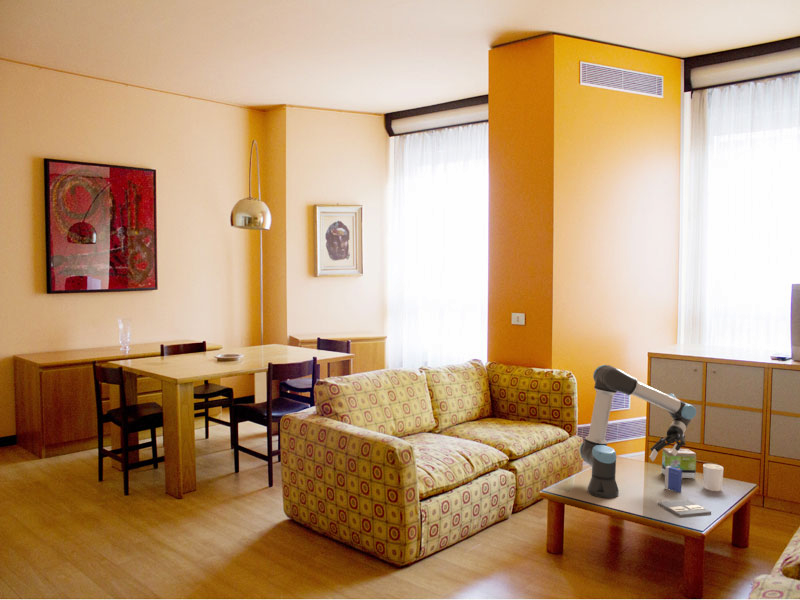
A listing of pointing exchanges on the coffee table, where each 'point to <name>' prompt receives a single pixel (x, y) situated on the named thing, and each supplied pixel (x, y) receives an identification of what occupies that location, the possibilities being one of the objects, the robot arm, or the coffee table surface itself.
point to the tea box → (680, 461)
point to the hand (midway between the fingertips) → (662, 456)
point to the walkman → (673, 478)
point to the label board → (684, 508)
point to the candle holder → (712, 477)
